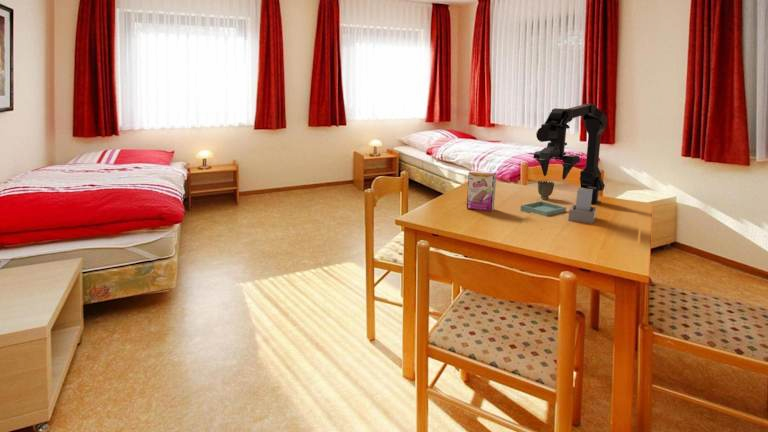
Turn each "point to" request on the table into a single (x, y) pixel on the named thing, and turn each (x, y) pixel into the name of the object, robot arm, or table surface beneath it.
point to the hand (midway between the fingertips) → (554, 177)
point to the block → (584, 199)
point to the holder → (582, 215)
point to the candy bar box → (481, 190)
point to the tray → (542, 208)
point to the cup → (545, 189)
